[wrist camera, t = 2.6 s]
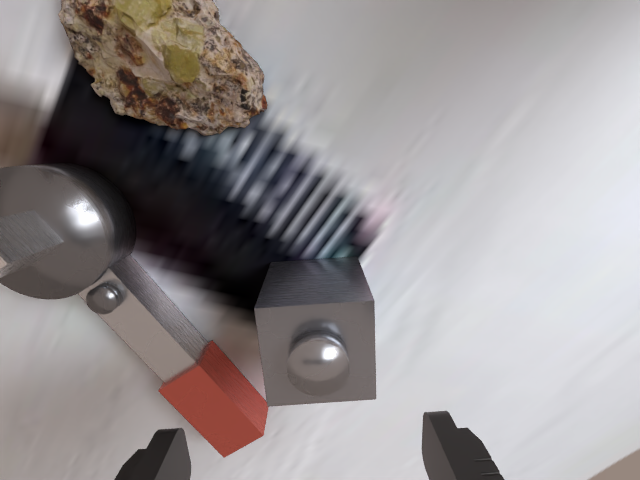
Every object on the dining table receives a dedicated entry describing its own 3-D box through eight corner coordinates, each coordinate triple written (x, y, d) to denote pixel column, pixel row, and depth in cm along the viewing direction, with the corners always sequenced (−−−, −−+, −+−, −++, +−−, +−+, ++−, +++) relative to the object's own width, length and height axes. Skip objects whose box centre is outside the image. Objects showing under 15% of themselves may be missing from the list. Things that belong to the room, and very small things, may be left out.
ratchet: (75, 137, 18) (-41, 134, 12) (290, 392, 23) (282, 477, 17) (-12, 207, 19) (-158, 235, 13) (213, 436, 24) (180, 532, 18)
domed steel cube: (357, 256, 20) (378, 311, 14) (359, 332, 22) (380, 415, 15) (271, 262, 20) (250, 319, 14) (279, 337, 22) (264, 422, 15)
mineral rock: (9, 66, 15) (30, -151, 11) (78, 62, 19) (110, -102, 15) (216, 190, 17) (291, 43, 14) (241, 165, 21) (305, 44, 17)
